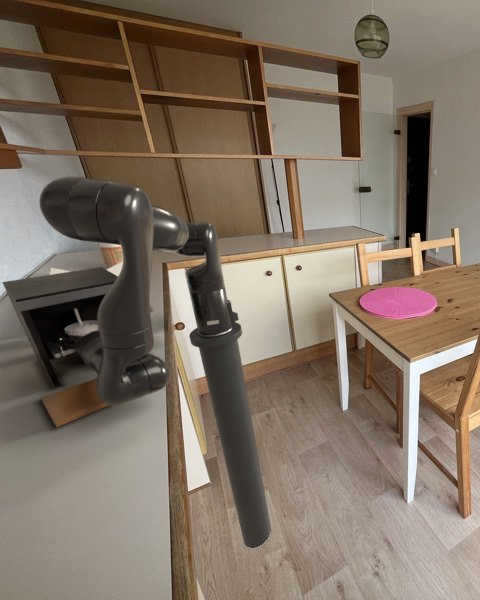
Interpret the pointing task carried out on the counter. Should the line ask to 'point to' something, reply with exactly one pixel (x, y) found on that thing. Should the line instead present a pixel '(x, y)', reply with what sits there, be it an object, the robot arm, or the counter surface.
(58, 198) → the robot arm
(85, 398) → the board
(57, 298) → the shelf
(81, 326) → the smoothie
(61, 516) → the counter surface
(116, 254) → the fruit juice
